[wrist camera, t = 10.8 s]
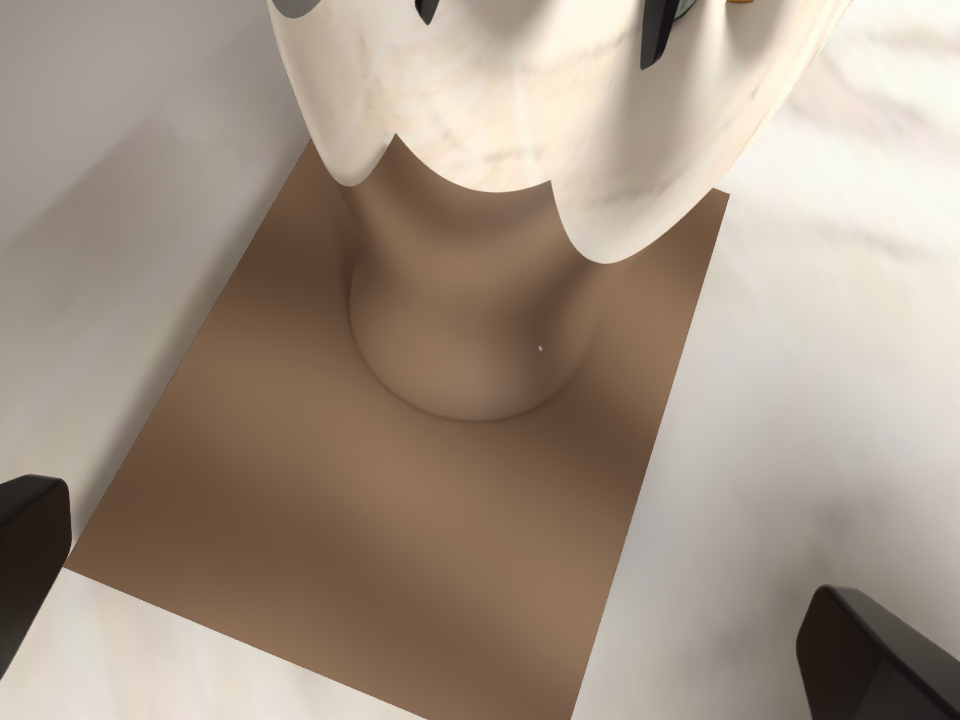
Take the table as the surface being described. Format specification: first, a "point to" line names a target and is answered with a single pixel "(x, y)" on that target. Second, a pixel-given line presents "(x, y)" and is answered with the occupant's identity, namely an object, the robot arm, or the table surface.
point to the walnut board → (392, 482)
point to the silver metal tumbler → (523, 164)
